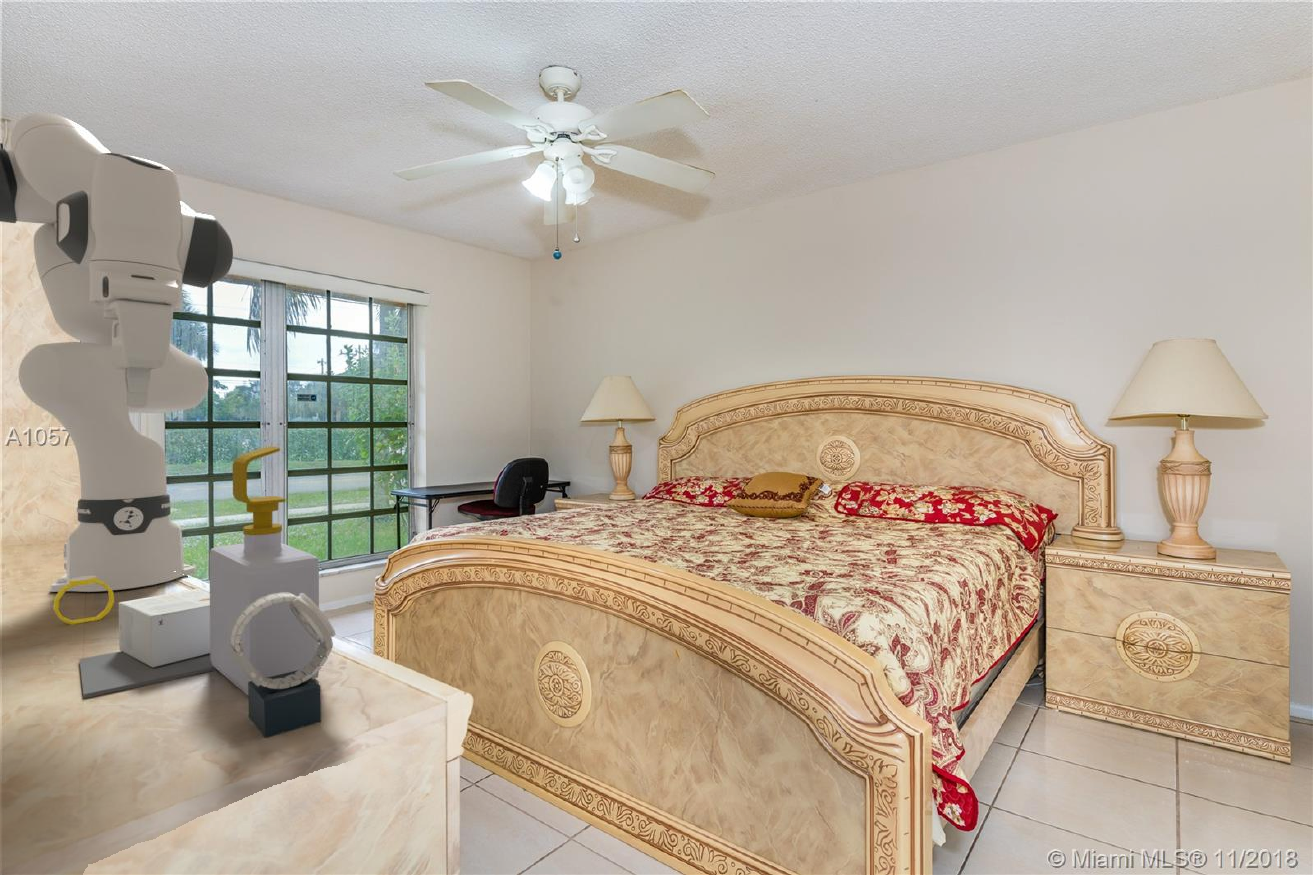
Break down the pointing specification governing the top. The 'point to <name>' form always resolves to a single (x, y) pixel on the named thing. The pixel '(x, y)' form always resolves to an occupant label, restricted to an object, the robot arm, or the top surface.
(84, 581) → the watch
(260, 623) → the soap bottle
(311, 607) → the watch
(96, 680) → the mat
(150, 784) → the top surface
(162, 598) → the small box
